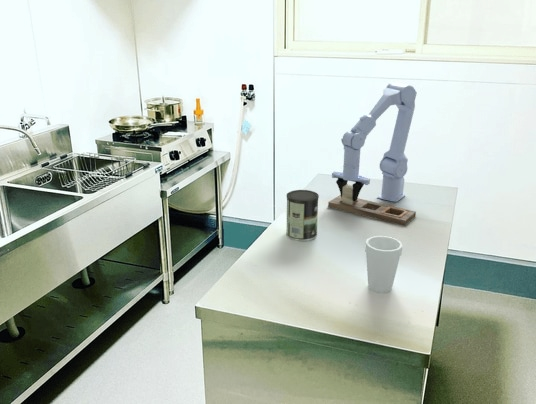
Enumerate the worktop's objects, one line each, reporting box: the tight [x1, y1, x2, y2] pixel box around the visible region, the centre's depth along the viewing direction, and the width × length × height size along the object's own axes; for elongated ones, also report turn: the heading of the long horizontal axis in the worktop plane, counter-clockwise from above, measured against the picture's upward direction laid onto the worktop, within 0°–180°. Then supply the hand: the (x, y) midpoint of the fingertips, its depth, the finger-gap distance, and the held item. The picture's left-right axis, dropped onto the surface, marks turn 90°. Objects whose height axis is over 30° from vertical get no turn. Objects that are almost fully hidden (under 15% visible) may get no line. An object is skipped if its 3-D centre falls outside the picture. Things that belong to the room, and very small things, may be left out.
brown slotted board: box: [327, 194, 417, 227], centre depth 193 cm, size 10×30×2 cm, turn 55°
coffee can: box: [286, 189, 320, 242], centre depth 172 cm, size 10×10×14 cm
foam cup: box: [364, 235, 403, 294], centre depth 141 cm, size 10×9×13 cm
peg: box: [342, 183, 356, 205], centre depth 197 cm, size 4×4×8 cm
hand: (349, 199), depth 197 cm, fingers open, 4 cm apart
